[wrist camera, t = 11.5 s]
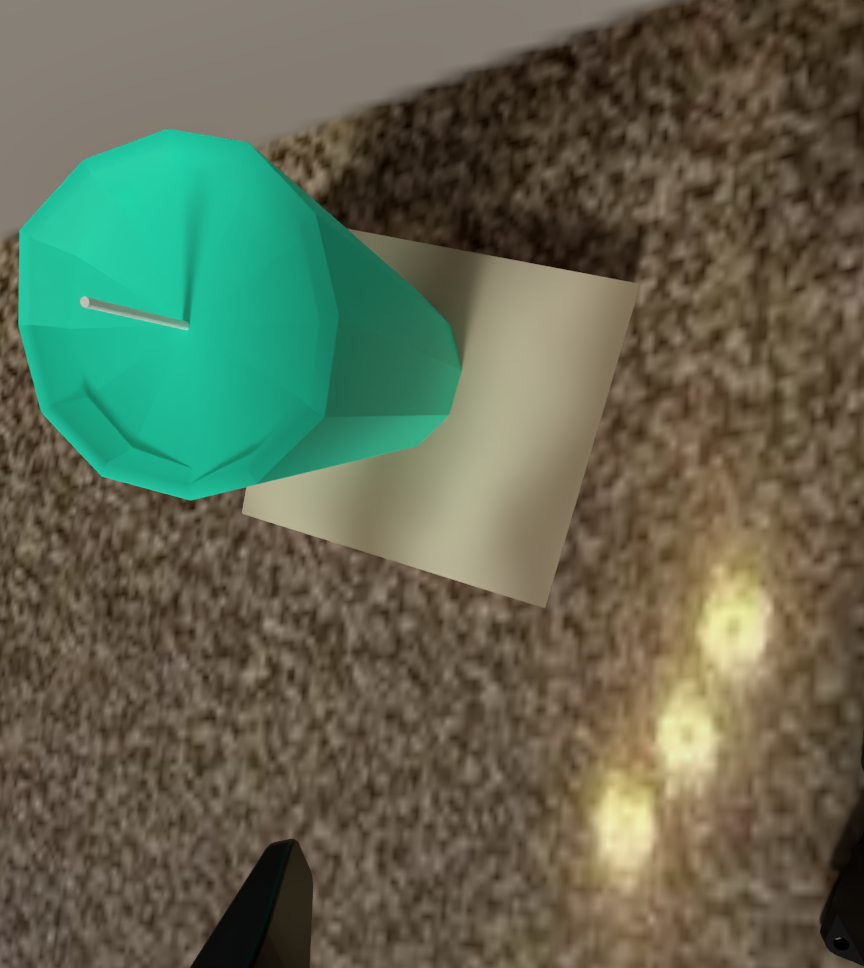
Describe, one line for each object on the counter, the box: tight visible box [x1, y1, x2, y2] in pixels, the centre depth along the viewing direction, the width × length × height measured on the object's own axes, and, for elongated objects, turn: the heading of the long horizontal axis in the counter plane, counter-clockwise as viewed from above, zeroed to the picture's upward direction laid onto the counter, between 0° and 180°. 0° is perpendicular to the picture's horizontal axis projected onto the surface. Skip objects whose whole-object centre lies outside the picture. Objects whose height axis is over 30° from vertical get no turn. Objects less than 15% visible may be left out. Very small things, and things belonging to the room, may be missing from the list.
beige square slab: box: [242, 229, 640, 608], centre depth 19 cm, size 12×11×2 cm
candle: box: [19, 129, 462, 500], centre depth 13 cm, size 6×6×12 cm
